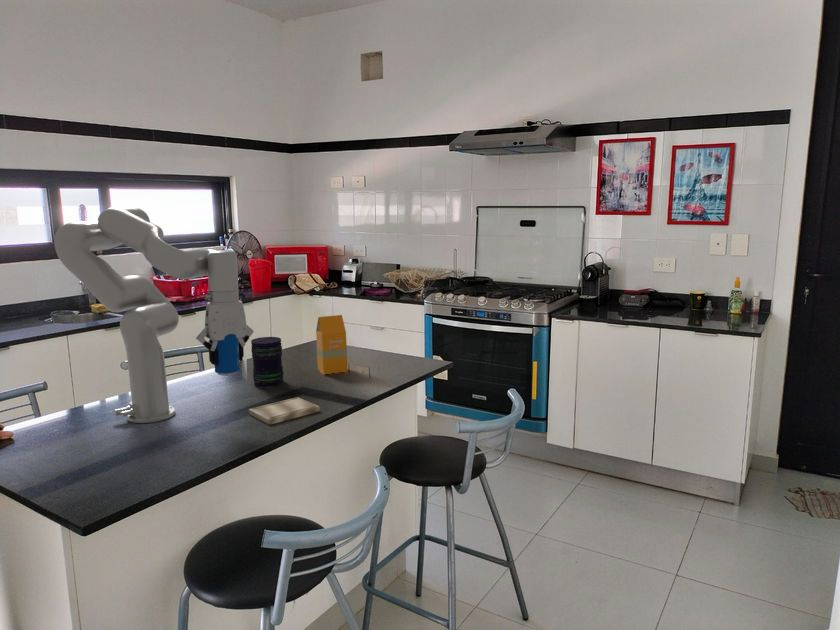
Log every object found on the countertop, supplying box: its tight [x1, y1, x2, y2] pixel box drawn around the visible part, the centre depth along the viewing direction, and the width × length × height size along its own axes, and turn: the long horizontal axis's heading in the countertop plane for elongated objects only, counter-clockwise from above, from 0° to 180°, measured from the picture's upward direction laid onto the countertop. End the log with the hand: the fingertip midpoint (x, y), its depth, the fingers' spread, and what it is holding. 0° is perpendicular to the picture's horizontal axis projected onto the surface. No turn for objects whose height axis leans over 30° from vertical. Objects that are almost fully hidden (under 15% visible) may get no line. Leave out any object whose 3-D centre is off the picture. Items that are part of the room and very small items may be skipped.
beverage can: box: [214, 334, 241, 377], centre depth 169 cm, size 6×6×12 cm
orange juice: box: [315, 314, 348, 376], centre depth 220 cm, size 8×9×20 cm
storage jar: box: [250, 336, 284, 388], centre depth 207 cm, size 10×10×15 cm
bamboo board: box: [248, 396, 320, 426], centre depth 179 cm, size 16×12×2 cm
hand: (226, 361), depth 169 cm, fingers closed on beverage can, 6 cm apart
